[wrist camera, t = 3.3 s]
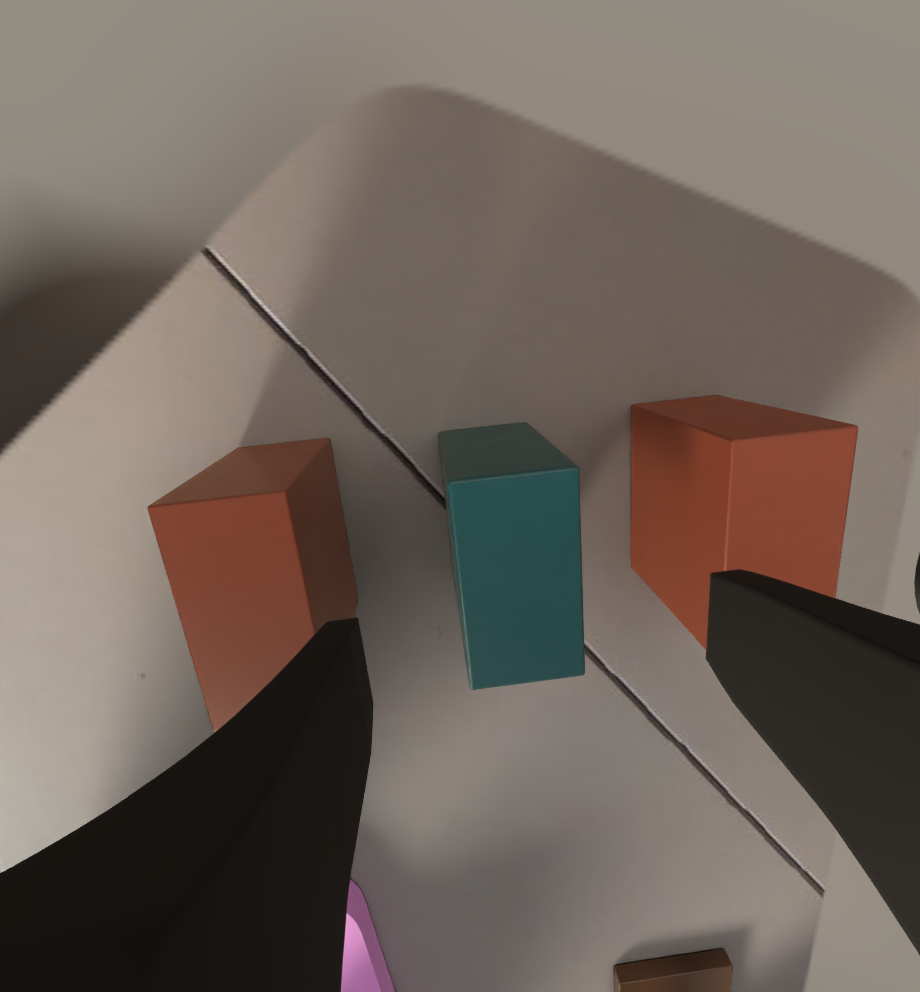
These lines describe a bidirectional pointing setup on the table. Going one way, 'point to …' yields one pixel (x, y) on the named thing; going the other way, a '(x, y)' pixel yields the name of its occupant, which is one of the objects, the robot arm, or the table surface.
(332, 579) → the pair of orange blocks
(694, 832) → the table surface
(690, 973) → the rack
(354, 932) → the bracket
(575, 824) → the table surface
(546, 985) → the table surface
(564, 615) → the teal rectangular block
